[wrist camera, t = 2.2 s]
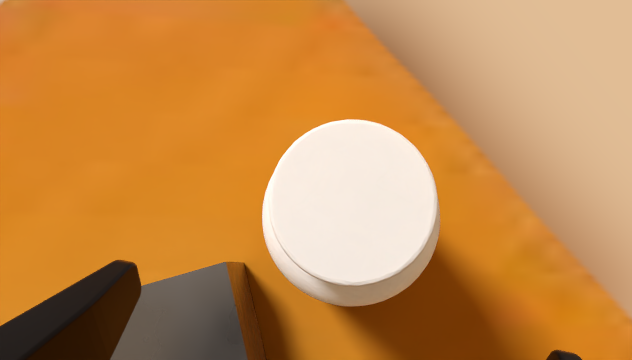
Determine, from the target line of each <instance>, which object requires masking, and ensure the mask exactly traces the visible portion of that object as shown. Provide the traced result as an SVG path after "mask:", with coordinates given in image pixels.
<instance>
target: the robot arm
mask: <svg viewBox="0 0 632 360" xmlns="http://www.w3.org/2000/svg"><path fill="white" fill-rule="evenodd" d="M140 295H141V282H140V278H139V274H138V269H137V266H136V264H135V263H133V262H128V261H124V260H116V261H113V262H111V263H110V264H108V265H106V266H104V267H103V268H101V269H99V270H97V271H96V272H94V273H92V274H90V275H89V276H87V277H85V278H83V279H82V280H80V281H78V282H76V283H75V284H73V285H71V286H70V287H68V288H66V289H64V290H63V291H61V292H59V293H57V294H56V295H54V296H52V297H50V298H49V299H47V300H45V301H43V302H42V303H40V304H38V305H36V306H35V307H33V308H31V309H29V310H28V311H26V312H24V313H22V314H21V315H19V316H17V317H15V318H14V319H12V320H10V321H8V322H7V323H5V324H3V325H1V326H0V360H110V359H111V357H112V355H113V353H114V351H115V349H116V347H117V345H118V343H119V340H120V338H121V336H122V334H123V332H124V330H125V328H126V326H127V323H128V321H129V319H130V317H131V315H132V313H133V311H134V309H135V306H136V304H137V302H138V300H139V298H140ZM546 360H582V359H581V358H580V357H579V356H578V355H576V354H574V353H570V352H566V351H561V350H554V351H552V352H551V353H550V355H549V356H548V358H547V359H546Z"/></svg>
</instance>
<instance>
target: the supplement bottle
mask: <svg viewBox="0 0 632 360" xmlns="http://www.w3.org/2000/svg"><path fill="white" fill-rule="evenodd" d="M262 223H263V232H264V237H265V241H266V245H267V247H268V250H269V252H270V255H271V257H272V259H273V260H274V262H275V264H276V265H277V267H278V268H279V270H280V271H281V272H282V274H283V275H284V276H285V277H286V278H287V279H288V280H289V281H290V282H291V283H292V284H293V285H295V286H296V287H297V288H298V289H300V290H301V291H303V292H304V293H306V294H308V295H309V296H311V297H313V298H315V299H318V300H320V301H323V302H326V303H330V304H334V305H339V306H365V305H370V304H375V303H378V302H382V301H384V300H387V299H389V298H391V297H393V296H395V295H397V294H399V293H400V292H402V291H403V290H404V289H406V288H407V287H409V286H410V285H411V284H412V283H413V282H414V281H415V280H416V279H417V278H418V277H419V276H420V274H421V273H422V272H423V270H424V269H425V268H426V266H427V265H428V263H429V261H430V259H431V257H432V255H433V253H434V250H435V247H436V244H437V240H438V236H439V229H440V210H439V201H438V197H437V191H436V185H435V181H434V178H433V175H432V172H431V170H430V168H429V166H428V164H427V163H426V161H425V159H424V158H423V156H422V155H421V154H420V152H419V151H418V150H417V148H416V147H415V146H414V145H413V144H412V143H411V142H409V141H408V140H407V139H406V138H405V137H403V136H402V135H401V134H399V133H397V132H395V131H394V130H392V129H390V128H388V127H386V126H383V125H381V124H378V123H374V122H369V121H365V120H341V121H335V122H331V123H327V124H324V125H321V126H319V127H317V128H314V129H312V130H311V131H309V132H307V133H306V134H304V135H303V136H301V137H300V138H299V139H298V140H296V141H295V142H294V143H293V144H292V145H291V147H290V148H289V149H288V150H287V151H286V152H285V154H284V155H283V156H282V158H281V159H280V161H279V163H278V165H277V167H276V169H275V171H274V173H273V175H272V177H271V179H270V182H269V184H268V187H267V190H266V193H265V197H264V202H263V212H262Z"/></svg>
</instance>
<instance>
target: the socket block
mask: <svg viewBox="0 0 632 360" xmlns="http://www.w3.org/2000/svg"><path fill="white" fill-rule="evenodd" d="M110 360H267V359H266V355H265V351H264V347H263V342H262V338H261V334H260V330H259V325H258V321H257V317H256V313H255V308H254V304H253V300H252V296H251V291H250V287H249V283H248V278H247V274H246V270H245V266H244V263H239V262H223V263H220V264H216V265H213V266H209V267H206V268H202V269H199V270H195V271H192V272H188V273H185V274H182V275H178V276H175V277H171V278H168V279H164V280H161V281H157V282H154V283H150V284H147V285H143V286H141V295H140V298H139V300H138V302H137V304H136V306H135V309H134V311H133V313H132V315H131V317H130V319H129V321H128V323H127V326H126V328H125V330H124V332H123V334H122V336H121V338H120V340H119V343H118V345H117V347H116V349H115V351H114V353H113V355H112V357H111V359H110Z"/></svg>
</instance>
